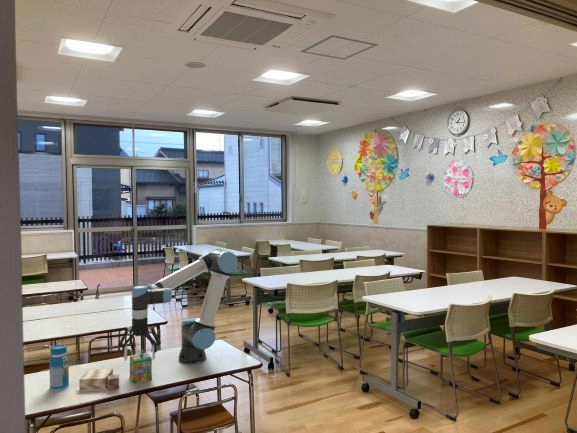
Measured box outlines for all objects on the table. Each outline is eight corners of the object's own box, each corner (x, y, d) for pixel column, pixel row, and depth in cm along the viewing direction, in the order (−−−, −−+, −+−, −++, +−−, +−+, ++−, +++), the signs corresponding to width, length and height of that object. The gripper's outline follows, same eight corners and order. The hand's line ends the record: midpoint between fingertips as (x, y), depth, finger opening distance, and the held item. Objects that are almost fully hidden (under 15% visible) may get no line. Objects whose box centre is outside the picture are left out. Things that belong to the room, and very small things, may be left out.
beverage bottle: (51, 392, 206) (50, 350, 206) (48, 386, 213) (47, 346, 213) (70, 388, 211) (70, 347, 211) (67, 382, 218) (66, 342, 218)
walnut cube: (118, 384, 215) (118, 374, 214) (119, 388, 210) (119, 378, 210) (107, 385, 213) (107, 375, 213) (107, 389, 208) (107, 379, 208)
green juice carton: (129, 378, 223) (129, 349, 223) (148, 374, 228) (147, 346, 227) (133, 384, 215) (132, 354, 215) (152, 380, 220) (151, 351, 219)
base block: (113, 378, 222) (112, 368, 222) (105, 388, 210) (105, 378, 210) (88, 379, 220) (87, 369, 220) (79, 389, 209) (79, 379, 208)
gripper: (166, 314, 226) (166, 355, 226) (116, 316, 223) (116, 357, 223) (164, 318, 218) (164, 361, 219) (111, 319, 215) (111, 362, 216)
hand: (139, 359), depth 221 cm, fingers open, 13 cm apart
